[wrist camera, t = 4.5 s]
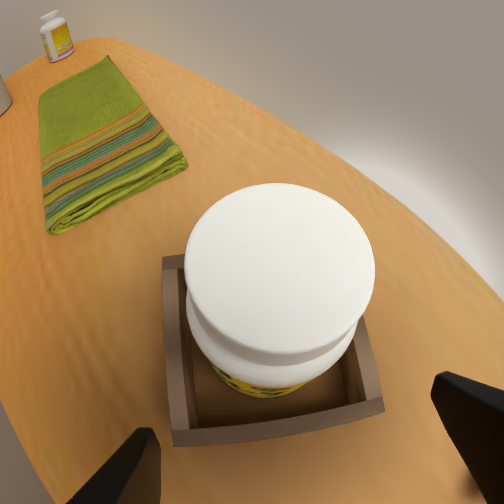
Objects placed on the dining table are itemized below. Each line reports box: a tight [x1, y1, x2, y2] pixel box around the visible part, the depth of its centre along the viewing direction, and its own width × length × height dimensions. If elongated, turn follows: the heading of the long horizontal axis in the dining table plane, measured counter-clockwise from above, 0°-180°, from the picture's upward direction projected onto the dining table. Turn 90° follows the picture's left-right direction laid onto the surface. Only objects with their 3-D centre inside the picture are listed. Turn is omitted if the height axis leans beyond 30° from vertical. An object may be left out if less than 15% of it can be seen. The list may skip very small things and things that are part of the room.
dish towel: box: [39, 55, 188, 236], centre depth 34 cm, size 15×36×3 cm, turn 32°
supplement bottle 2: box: [184, 183, 375, 399], centre depth 15 cm, size 7×7×13 cm
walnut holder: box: [162, 254, 385, 447], centre depth 19 cm, size 12×12×4 cm
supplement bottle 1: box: [40, 10, 74, 62], centre depth 46 cm, size 7×7×13 cm
